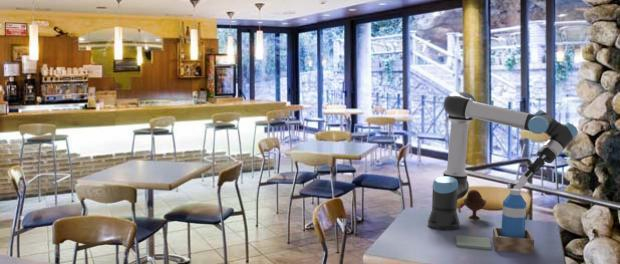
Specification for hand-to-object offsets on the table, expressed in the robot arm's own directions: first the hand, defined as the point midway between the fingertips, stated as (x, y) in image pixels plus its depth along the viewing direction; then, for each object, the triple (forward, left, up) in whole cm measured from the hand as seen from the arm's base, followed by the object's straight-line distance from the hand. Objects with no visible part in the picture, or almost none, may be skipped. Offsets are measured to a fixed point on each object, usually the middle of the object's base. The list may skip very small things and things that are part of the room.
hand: (517, 186), depth 238 cm
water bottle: (-2, -11, -25) cm, 27 cm away
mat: (-18, -11, -25) cm, 32 cm away
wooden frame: (-2, -11, -25) cm, 27 cm away
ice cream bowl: (-16, +33, -25) cm, 44 cm away
